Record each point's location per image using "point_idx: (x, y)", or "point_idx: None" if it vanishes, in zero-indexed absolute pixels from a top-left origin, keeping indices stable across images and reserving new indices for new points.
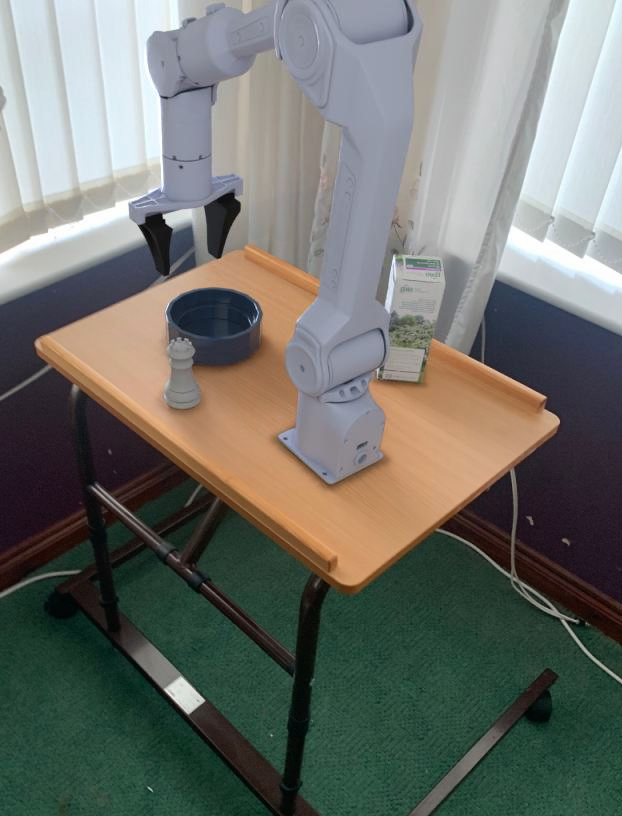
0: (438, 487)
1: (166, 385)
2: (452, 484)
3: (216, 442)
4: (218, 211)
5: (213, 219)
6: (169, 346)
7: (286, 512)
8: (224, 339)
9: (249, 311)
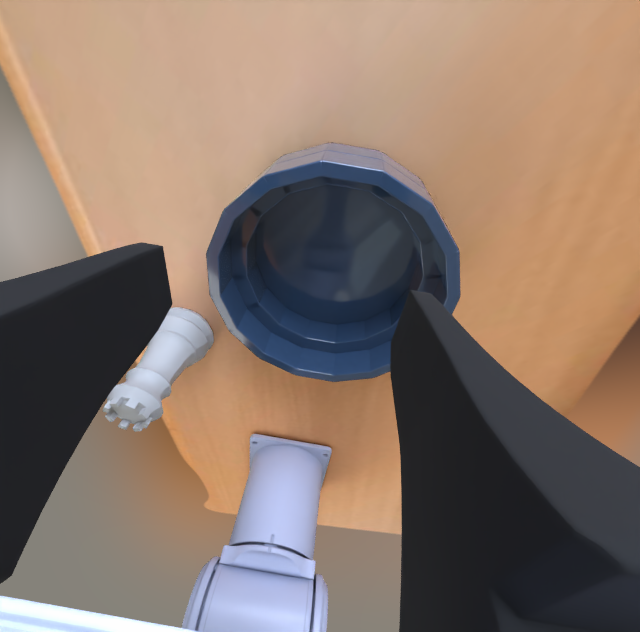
0: (326, 516)
1: None
2: (338, 520)
3: (187, 397)
4: (424, 586)
5: (435, 468)
6: (111, 396)
7: (198, 469)
8: (277, 365)
9: None
